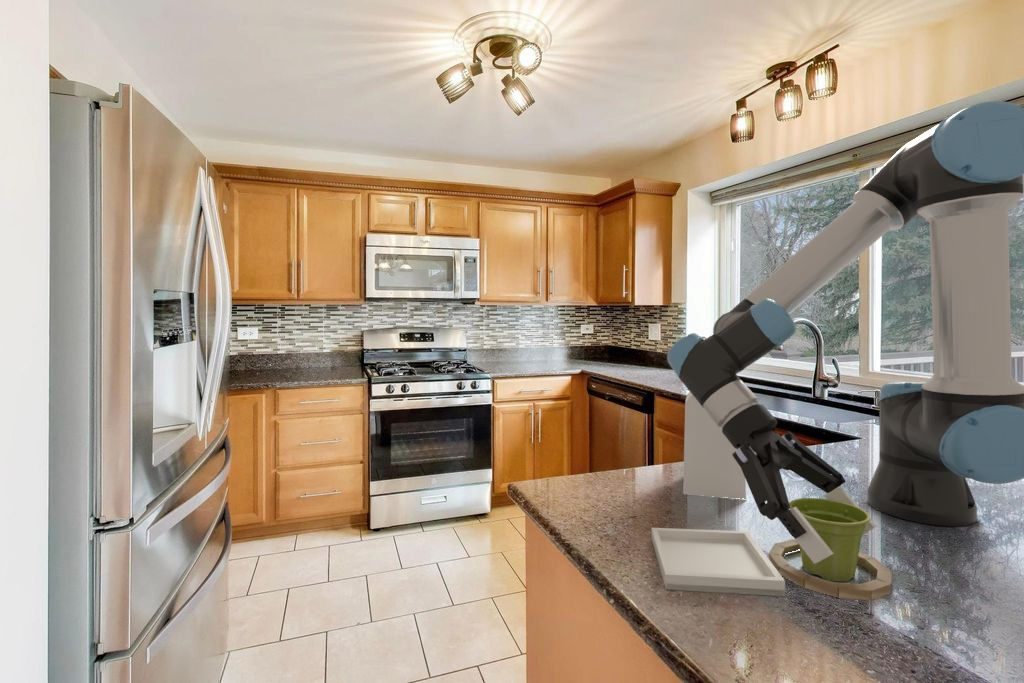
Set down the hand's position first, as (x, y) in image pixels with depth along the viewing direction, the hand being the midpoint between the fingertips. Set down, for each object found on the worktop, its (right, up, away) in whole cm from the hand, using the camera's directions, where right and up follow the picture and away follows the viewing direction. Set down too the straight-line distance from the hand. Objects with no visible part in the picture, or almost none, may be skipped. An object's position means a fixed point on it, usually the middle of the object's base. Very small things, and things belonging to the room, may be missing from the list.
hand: (847, 544), depth 66 cm
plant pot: (-1, -5, +2) cm, 5 cm away
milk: (-3, -3, +36) cm, 37 cm away
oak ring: (-1, -5, +2) cm, 5 cm away
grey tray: (-17, -5, +5) cm, 18 cm away
